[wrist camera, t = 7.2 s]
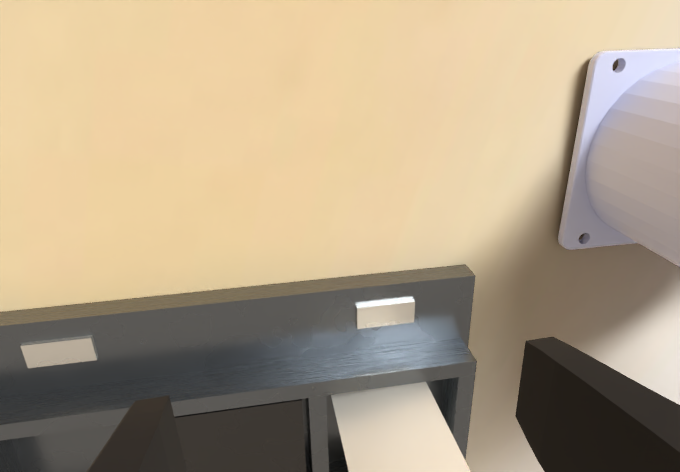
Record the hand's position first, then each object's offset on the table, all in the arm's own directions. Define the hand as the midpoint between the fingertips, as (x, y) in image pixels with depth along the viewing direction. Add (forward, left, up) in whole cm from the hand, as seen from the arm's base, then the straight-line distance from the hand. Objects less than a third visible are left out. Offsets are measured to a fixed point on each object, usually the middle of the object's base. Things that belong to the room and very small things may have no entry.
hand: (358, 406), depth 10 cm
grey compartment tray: (+3, +9, -10) cm, 14 cm away
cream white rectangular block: (-3, +9, -9) cm, 13 cm away
